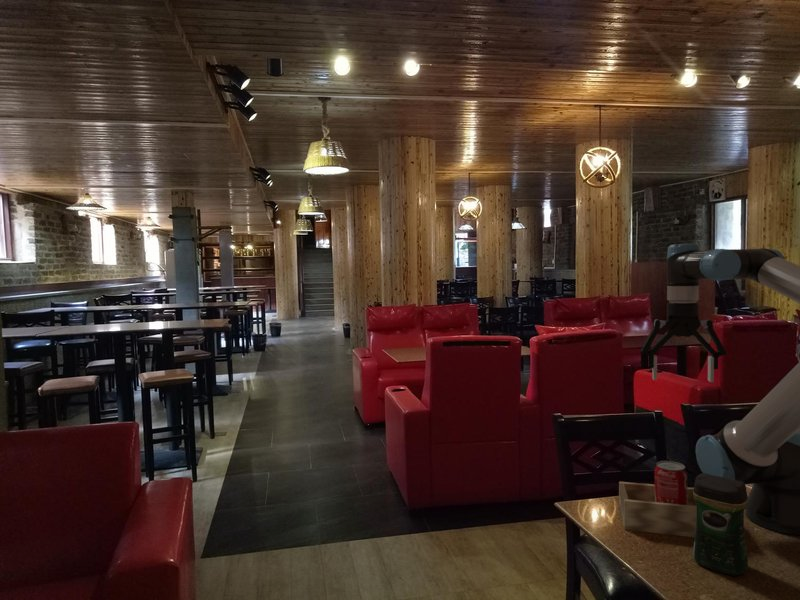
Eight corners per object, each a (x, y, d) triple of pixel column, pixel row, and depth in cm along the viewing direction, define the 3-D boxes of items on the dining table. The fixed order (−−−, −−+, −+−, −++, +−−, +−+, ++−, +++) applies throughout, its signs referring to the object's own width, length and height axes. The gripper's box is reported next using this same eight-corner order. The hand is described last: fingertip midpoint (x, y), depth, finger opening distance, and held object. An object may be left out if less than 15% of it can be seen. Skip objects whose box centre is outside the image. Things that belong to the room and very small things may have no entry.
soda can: (691, 525, 125) (692, 471, 125) (659, 523, 127) (659, 469, 126) (682, 511, 132) (682, 460, 132) (651, 510, 134) (651, 459, 133)
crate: (714, 517, 132) (714, 489, 132) (729, 541, 121) (729, 510, 120) (619, 507, 138) (619, 481, 138) (624, 529, 127) (624, 500, 127)
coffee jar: (751, 565, 111) (752, 478, 110) (741, 581, 105) (742, 489, 104) (700, 549, 117) (700, 466, 116) (688, 563, 112) (688, 477, 111)
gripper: (731, 300, 142) (730, 379, 143) (630, 301, 149) (630, 376, 150) (740, 302, 135) (739, 385, 136) (633, 302, 142) (633, 381, 143)
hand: (682, 380), depth 143 cm, fingers open, 13 cm apart
